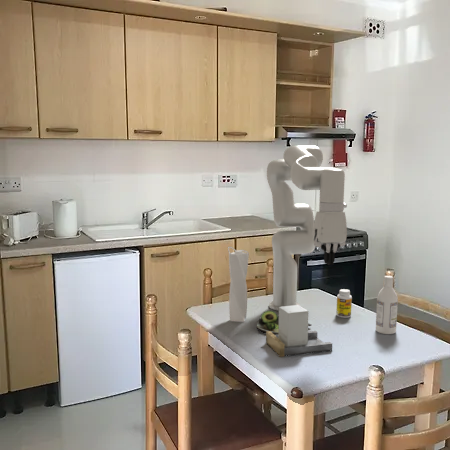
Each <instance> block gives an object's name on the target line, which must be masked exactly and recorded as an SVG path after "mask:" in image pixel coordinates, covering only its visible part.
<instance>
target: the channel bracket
mask: <svg viewBox="0 0 450 450" xmlns="http://www.w3.org/2000/svg"><path fill="white" fill-rule="evenodd" d="M278 335H279V334H278ZM278 335H274V334H273V333H272V332H271V331H266V334H265V343H266V345H268V347H269V349H271V350H272V351H273V352H274V353H275V354H276V355H277V356H278V357H279V358H283V357H292V356H302V355H311V354H319V353H327V352H333V343H332V342H331V341H328V342H324V341H322V340H321V339H320V338H319V337H318V331H316V330H310V331H309V330H308V344H307V345H297V346H288V347H284V346H285V344H284V343H283V342H282V341H280V340H279V339H278Z"/></svg>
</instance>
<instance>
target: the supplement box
mask: <svg viewBox="0 0 450 450" xmlns="http://www.w3.org/2000/svg"><path fill="white" fill-rule="evenodd" d="M309 313H310V312H309V310H308V309H306V308H304V307H302V306H301V304H300V305H292V306H283V307H279V311H278V316H279V335H278V339H279V340H280V341H282V342H283V343H284V344H285V346H284V347H288V346H297V345H307V344H308V331H309V326H308V323H309Z"/></svg>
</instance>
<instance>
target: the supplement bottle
mask: <svg viewBox="0 0 450 450" xmlns="http://www.w3.org/2000/svg"><path fill="white" fill-rule="evenodd" d="M338 292H339V293H338V294H337V296H336V316H337V317H339V318H344V319H346V318H347V319H348V318H350V317H351V316H352V301H353V297H352V295H351V291H350V289H345V288H343V289H342V288H341V289H339V291H338Z"/></svg>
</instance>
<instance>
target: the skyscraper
mask: <svg viewBox="0 0 450 450" xmlns="http://www.w3.org/2000/svg"><path fill="white" fill-rule="evenodd" d="M230 249H232V250H233V252H230ZM227 250H228V267H229V279H230V282H229V283H230V284H229V296H228V297H229V298H228V300H229V301H228V302H229V305H228V306H229V307H228V308H229V309H228V311H229V322H238V323H239V322H240V323H245V320H246V319H247V311H248V286H247V281H246V280H247V275H248V267H249V258H250V257H249V256H250V253H249V251H247V250H246V249H235V248H234V247H232V246H228V247H227Z"/></svg>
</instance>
